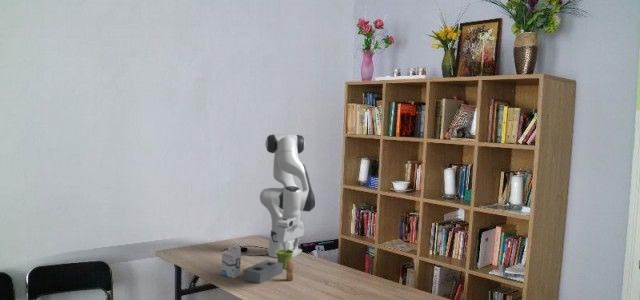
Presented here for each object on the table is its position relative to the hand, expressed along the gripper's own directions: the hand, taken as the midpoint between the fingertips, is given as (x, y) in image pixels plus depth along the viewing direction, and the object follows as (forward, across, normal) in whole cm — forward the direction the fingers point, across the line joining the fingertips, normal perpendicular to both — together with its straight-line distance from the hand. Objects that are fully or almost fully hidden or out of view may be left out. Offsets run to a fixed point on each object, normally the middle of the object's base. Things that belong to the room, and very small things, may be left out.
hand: (290, 248), depth 229 cm
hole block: (+16, +2, -14) cm, 21 cm away
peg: (+16, 0, 0) cm, 16 cm away
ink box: (+16, +10, -28) cm, 34 cm away
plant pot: (+16, -16, -13) cm, 26 cm away
